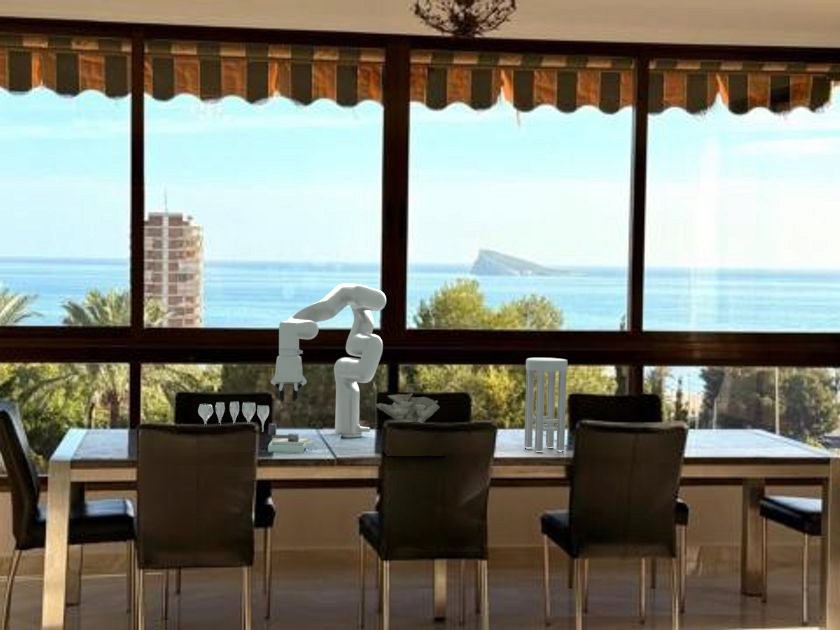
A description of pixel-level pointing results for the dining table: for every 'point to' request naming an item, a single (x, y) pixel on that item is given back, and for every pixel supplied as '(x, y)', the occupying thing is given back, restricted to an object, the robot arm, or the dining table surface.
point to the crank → (290, 437)
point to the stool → (551, 367)
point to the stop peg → (288, 393)
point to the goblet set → (234, 411)
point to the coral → (409, 408)
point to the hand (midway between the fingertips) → (288, 400)
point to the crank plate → (287, 440)
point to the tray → (286, 447)
